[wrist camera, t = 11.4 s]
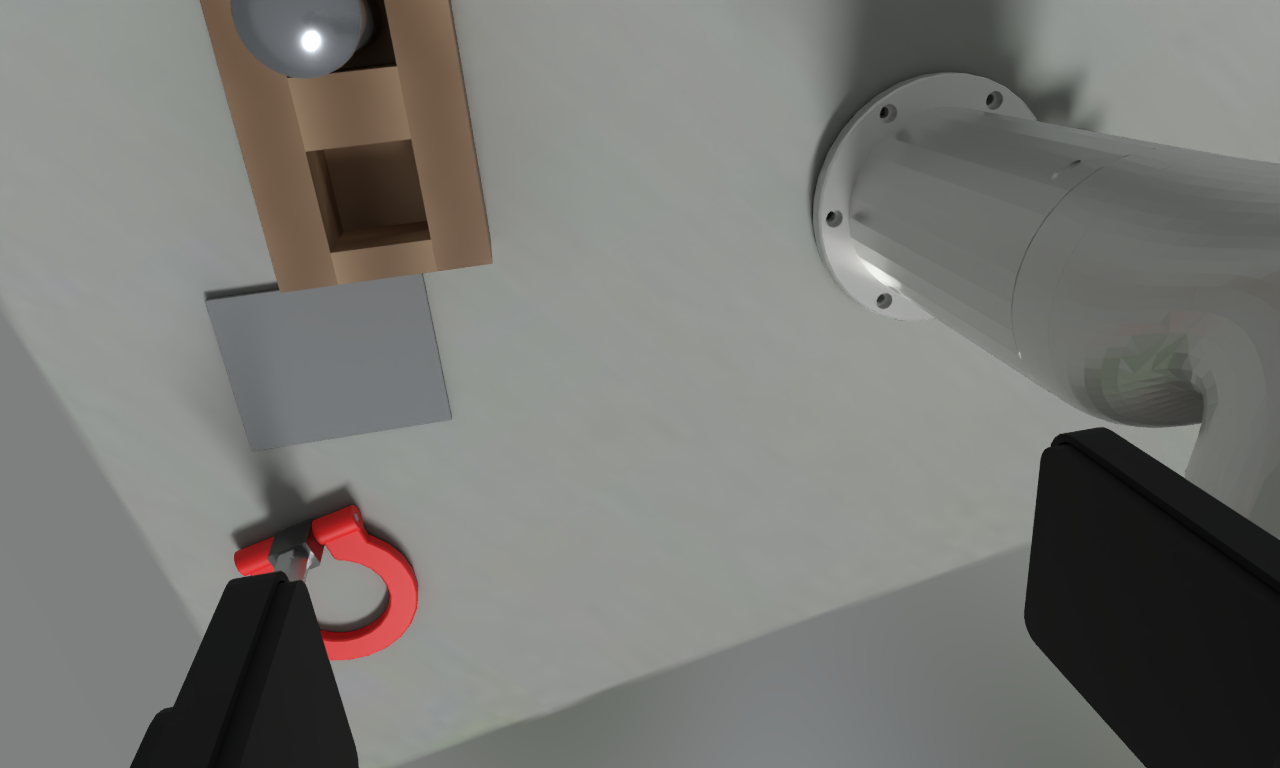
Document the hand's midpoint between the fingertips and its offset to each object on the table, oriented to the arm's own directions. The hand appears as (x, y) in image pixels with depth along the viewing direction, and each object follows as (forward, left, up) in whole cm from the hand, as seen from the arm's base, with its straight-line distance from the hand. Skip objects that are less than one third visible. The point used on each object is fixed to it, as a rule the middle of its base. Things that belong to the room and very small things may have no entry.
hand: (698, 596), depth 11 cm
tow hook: (+14, +21, -34) cm, 42 cm away
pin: (+7, -8, -33) cm, 34 cm away
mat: (+11, +8, -33) cm, 36 cm away
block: (+7, -4, -33) cm, 34 cm away
